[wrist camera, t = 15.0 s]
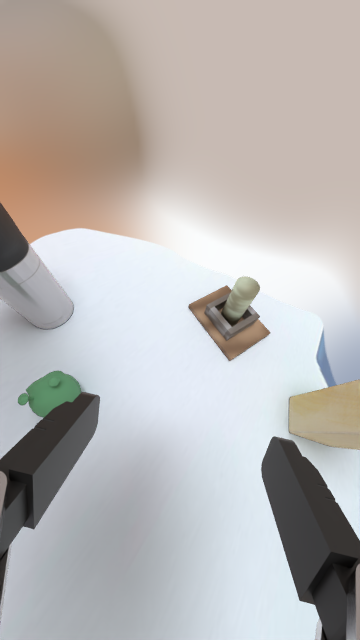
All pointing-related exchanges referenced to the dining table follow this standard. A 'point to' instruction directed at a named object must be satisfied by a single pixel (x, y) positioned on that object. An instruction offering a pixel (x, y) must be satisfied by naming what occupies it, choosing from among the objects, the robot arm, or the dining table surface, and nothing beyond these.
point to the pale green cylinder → (240, 299)
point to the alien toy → (50, 392)
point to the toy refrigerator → (328, 415)
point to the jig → (221, 331)
